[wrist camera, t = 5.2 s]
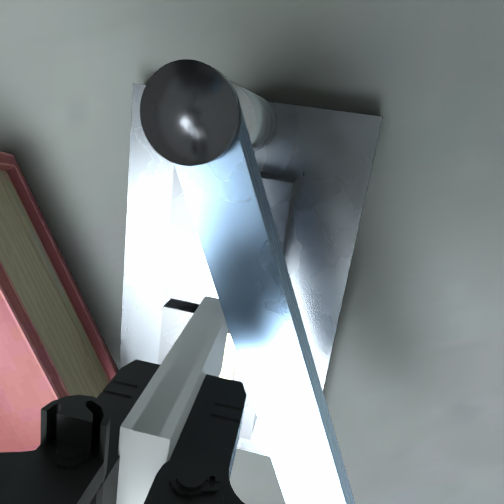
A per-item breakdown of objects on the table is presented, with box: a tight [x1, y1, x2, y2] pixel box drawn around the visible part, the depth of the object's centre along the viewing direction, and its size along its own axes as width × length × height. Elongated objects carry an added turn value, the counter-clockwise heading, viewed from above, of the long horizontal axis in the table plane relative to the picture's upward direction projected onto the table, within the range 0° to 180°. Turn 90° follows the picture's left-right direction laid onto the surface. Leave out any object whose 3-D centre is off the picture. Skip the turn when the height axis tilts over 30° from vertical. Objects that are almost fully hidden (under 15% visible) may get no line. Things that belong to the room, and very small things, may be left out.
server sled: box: [119, 81, 383, 457], centre depth 18 cm, size 18×11×6 cm, turn 172°
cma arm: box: [140, 60, 355, 504], centre depth 13 cm, size 16×3×2 cm, turn 17°
